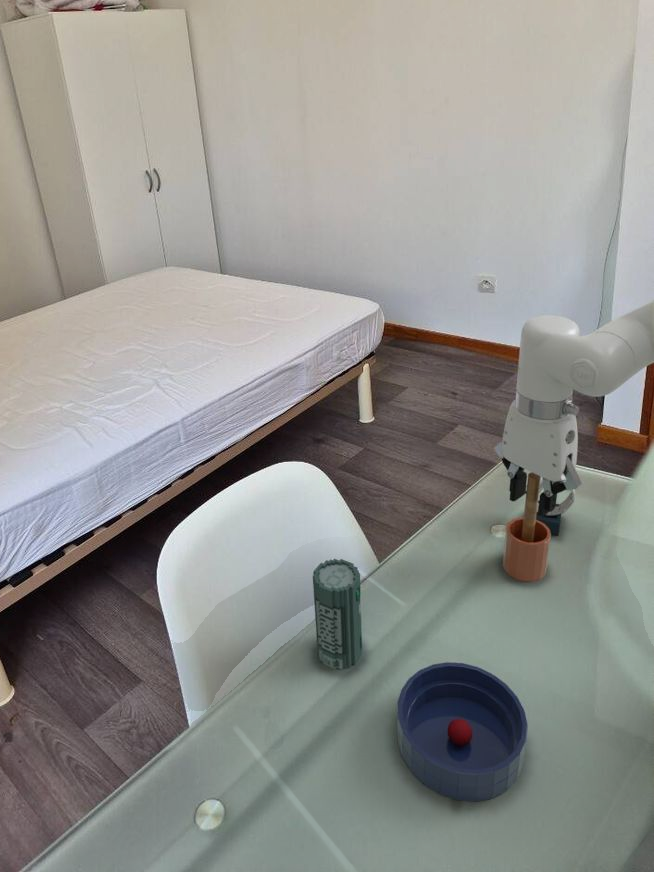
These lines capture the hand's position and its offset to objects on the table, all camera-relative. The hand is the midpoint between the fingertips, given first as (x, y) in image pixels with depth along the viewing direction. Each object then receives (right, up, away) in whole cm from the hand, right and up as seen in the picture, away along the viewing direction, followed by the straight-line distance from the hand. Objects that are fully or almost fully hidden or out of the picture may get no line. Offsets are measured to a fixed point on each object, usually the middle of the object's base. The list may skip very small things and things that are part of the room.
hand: (531, 503), depth 106 cm
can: (-30, -21, -7) cm, 37 cm away
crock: (+1, -12, +6) cm, 13 cm away
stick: (+1, -11, +6) cm, 13 cm away
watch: (+8, -7, +15) cm, 18 cm away
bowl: (-16, -26, -20) cm, 37 cm away
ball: (-17, -26, -21) cm, 37 cm away
